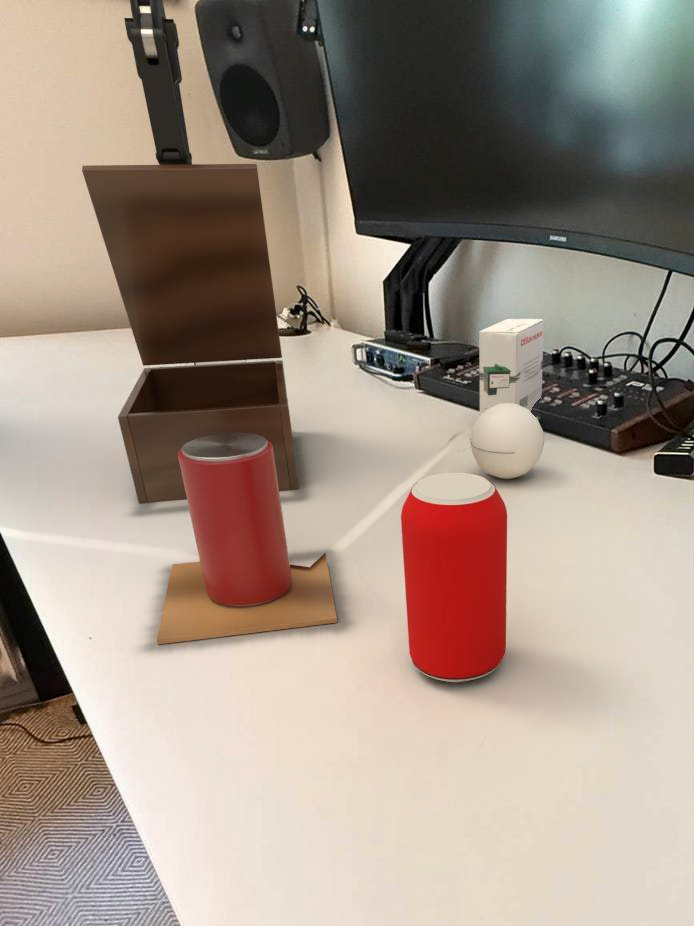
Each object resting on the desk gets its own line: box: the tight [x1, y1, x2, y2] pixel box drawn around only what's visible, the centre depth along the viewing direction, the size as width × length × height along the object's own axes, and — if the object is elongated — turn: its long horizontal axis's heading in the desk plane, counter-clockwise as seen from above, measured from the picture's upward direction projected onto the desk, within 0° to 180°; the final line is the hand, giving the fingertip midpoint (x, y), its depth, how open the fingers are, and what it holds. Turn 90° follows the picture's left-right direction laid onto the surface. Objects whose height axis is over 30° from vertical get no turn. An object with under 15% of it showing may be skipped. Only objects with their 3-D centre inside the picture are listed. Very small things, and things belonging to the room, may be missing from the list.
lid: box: [81, 163, 283, 367], centre depth 78 cm, size 20×15×1 cm
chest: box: [117, 359, 300, 505], centre depth 81 cm, size 20×15×9 cm
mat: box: [156, 552, 338, 645], centre depth 60 cm, size 12×12×1 cm
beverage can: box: [400, 472, 508, 683], centre depth 48 cm, size 6×6×12 cm
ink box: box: [478, 318, 545, 421], centre depth 93 cm, size 9×5×12 cm, turn 156°
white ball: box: [455, 403, 545, 480], centre depth 79 cm, size 10×7×7 cm
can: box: [178, 433, 292, 607], centre depth 57 cm, size 6×6×11 cm
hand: (191, 250), depth 78 cm, fingers closed
